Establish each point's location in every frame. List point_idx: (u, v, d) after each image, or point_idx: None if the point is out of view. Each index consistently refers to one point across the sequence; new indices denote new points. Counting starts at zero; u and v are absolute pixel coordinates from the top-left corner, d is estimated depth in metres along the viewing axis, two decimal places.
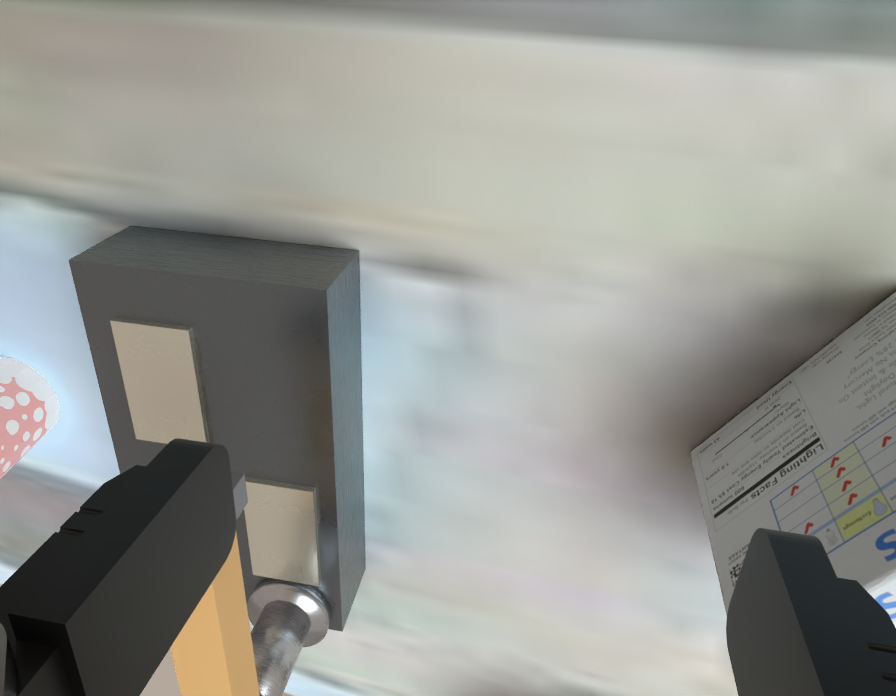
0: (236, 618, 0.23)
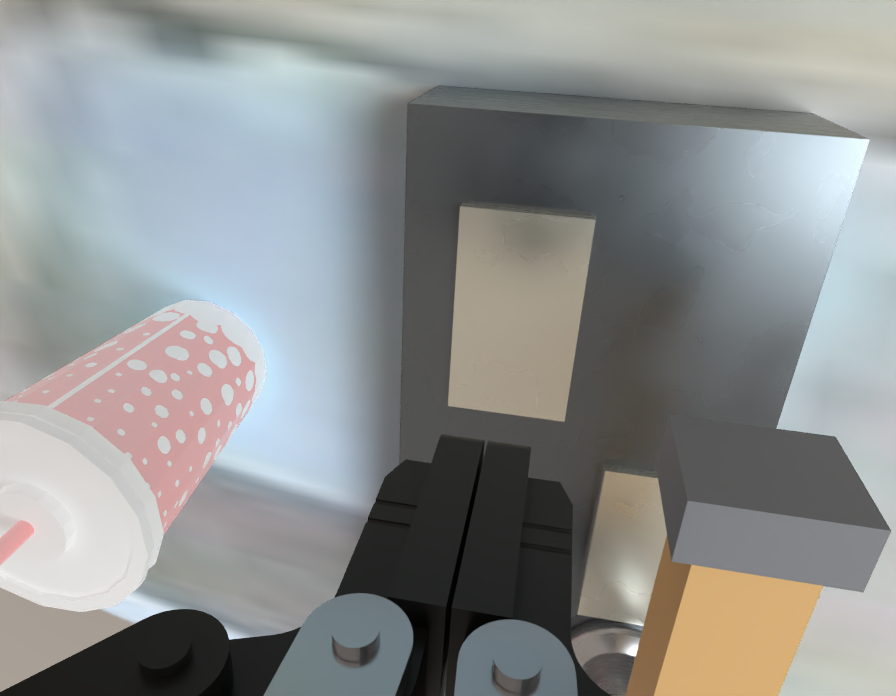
0: None
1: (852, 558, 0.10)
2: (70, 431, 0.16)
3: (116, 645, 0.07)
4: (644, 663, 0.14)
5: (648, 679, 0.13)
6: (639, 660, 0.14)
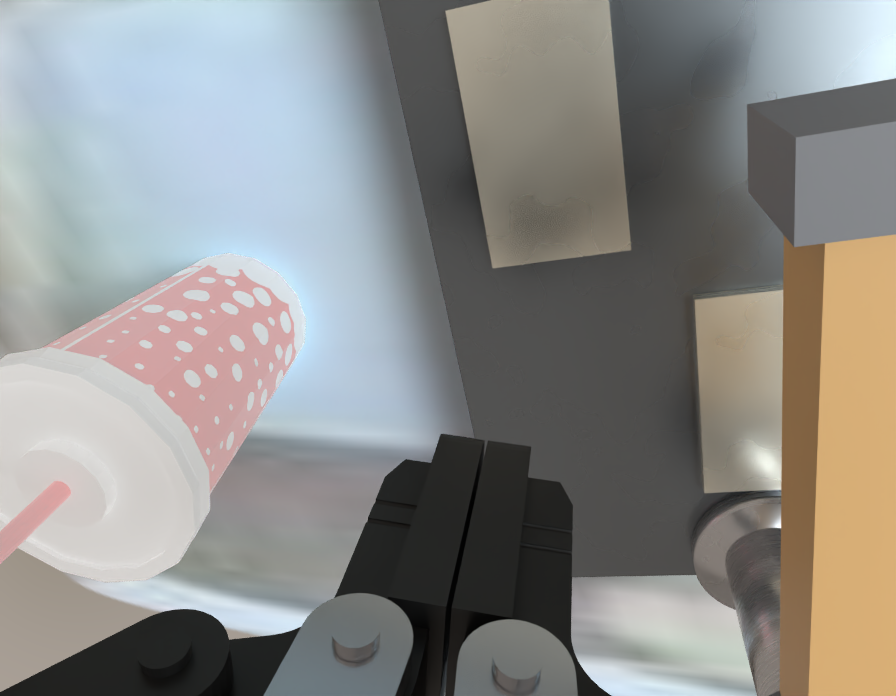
0: None
1: None
2: (78, 365, 0.14)
3: (116, 645, 0.07)
4: (794, 460, 0.10)
5: (804, 470, 0.10)
6: (787, 465, 0.11)
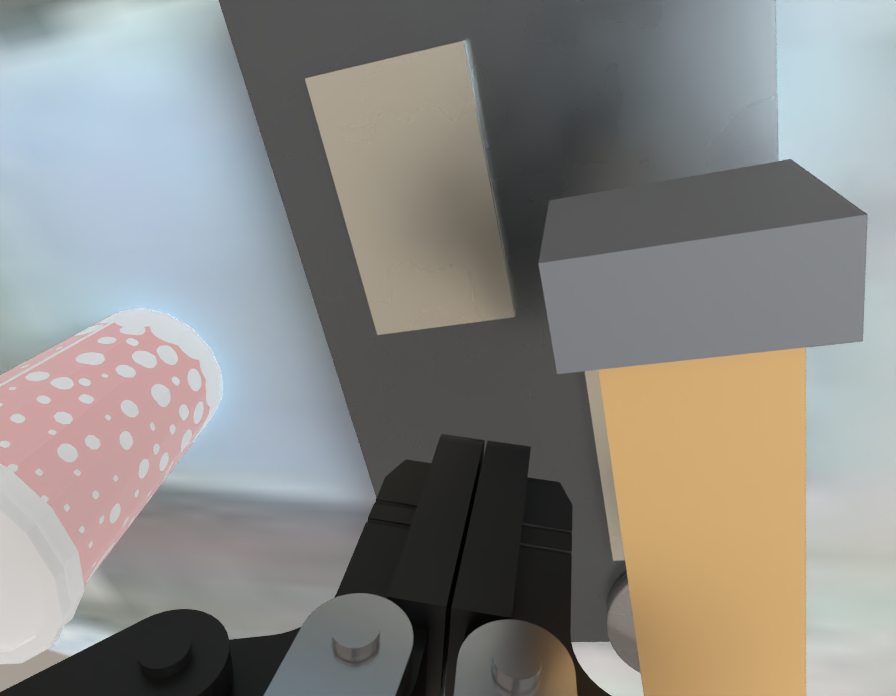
0: None
1: (823, 285, 0.06)
2: None
3: (116, 645, 0.07)
4: None
5: None
6: None
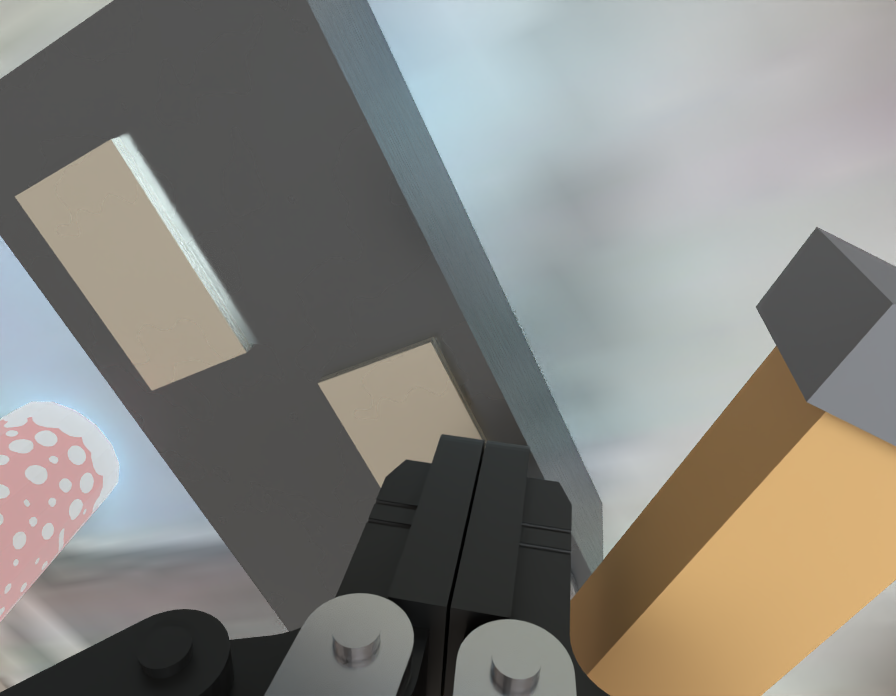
0: None
1: None
2: None
3: (116, 645, 0.07)
4: (627, 567, 0.10)
5: (636, 586, 0.09)
6: (613, 565, 0.10)
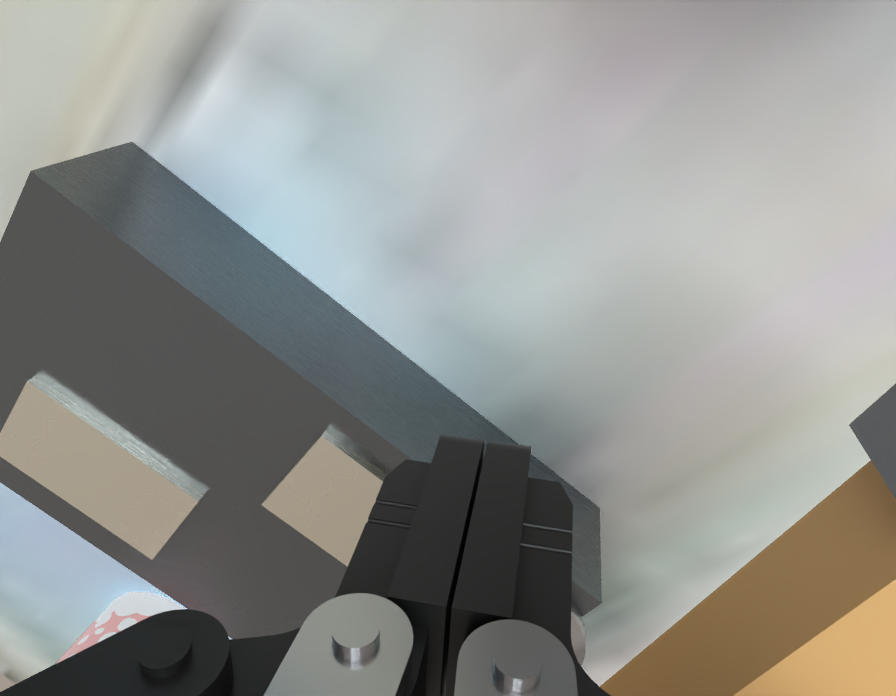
0: None
1: None
2: None
3: (116, 645, 0.07)
4: (692, 652, 0.10)
5: (707, 675, 0.10)
6: (673, 645, 0.11)
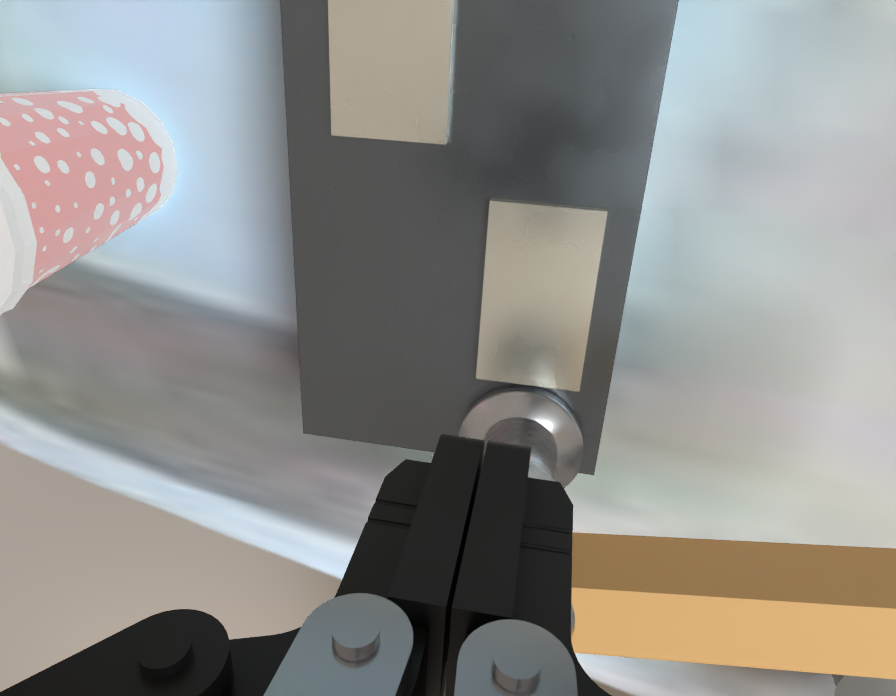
0: None
1: None
2: None
3: (116, 645, 0.07)
4: (850, 569, 0.15)
5: (870, 588, 0.14)
6: (826, 556, 0.15)
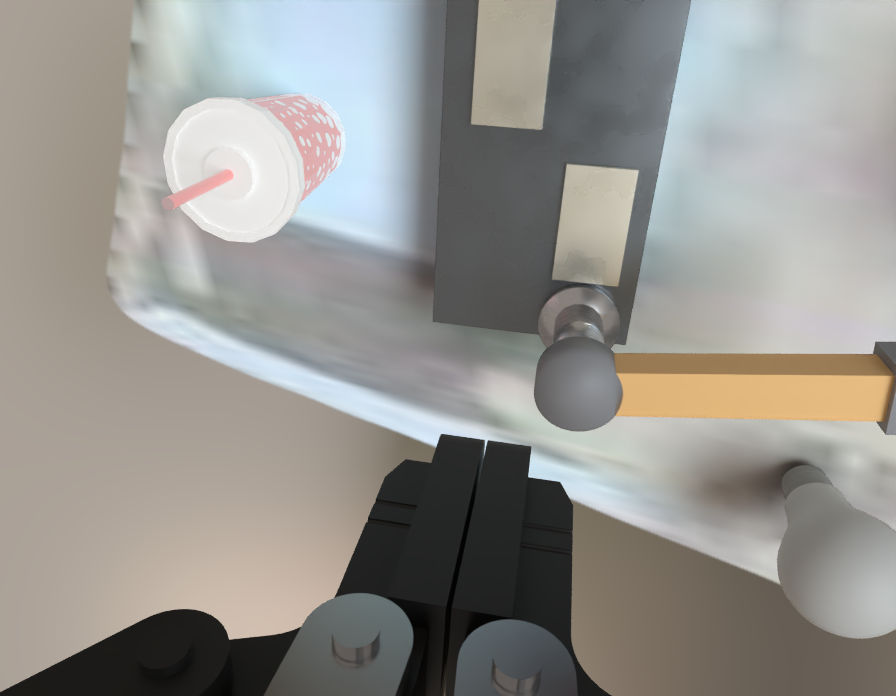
0: None
1: None
2: (260, 109, 0.28)
3: (116, 645, 0.07)
4: (774, 362, 0.27)
5: (783, 368, 0.27)
6: (762, 357, 0.27)
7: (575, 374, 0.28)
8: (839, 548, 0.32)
